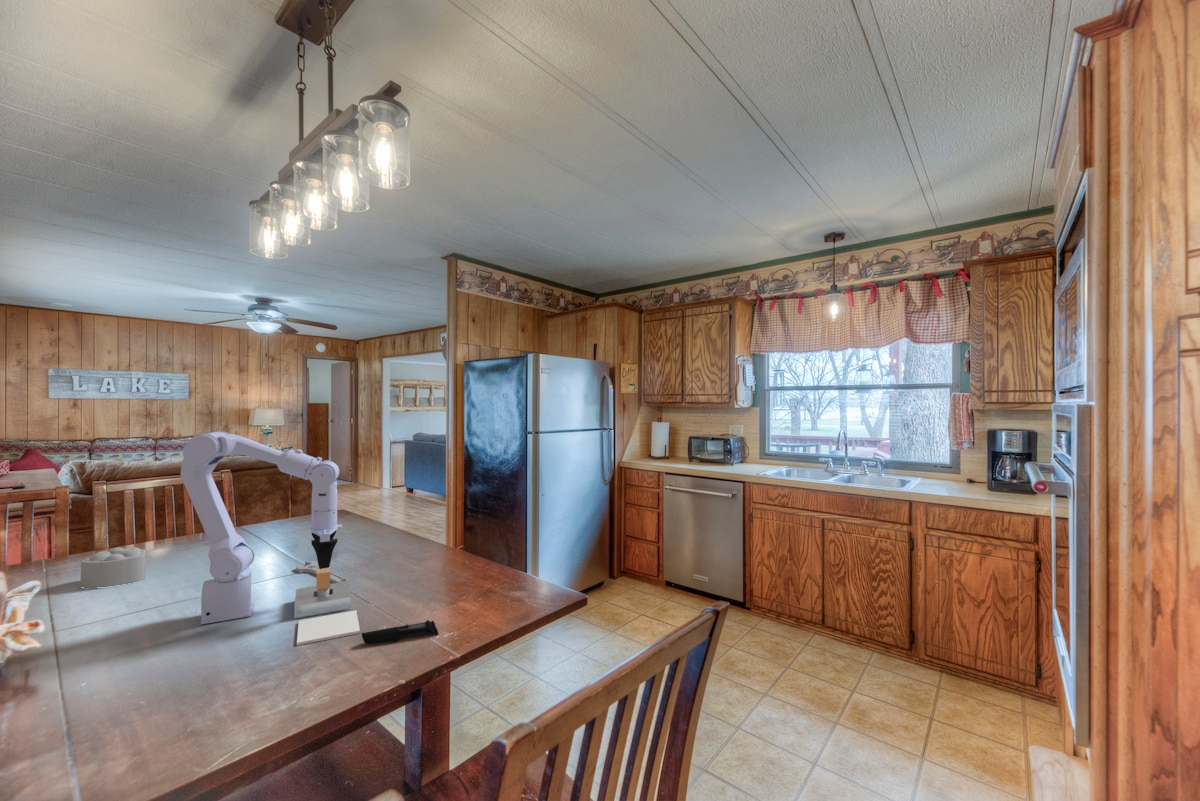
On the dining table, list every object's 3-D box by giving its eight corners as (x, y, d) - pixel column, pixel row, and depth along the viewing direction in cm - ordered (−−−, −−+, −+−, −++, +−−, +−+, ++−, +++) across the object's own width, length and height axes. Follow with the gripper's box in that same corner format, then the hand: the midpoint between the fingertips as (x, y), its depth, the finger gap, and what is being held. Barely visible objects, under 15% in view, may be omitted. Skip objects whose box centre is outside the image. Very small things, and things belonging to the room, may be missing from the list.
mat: (296, 645, 105) (296, 642, 105) (298, 623, 115) (298, 620, 115) (359, 633, 111) (359, 630, 111) (356, 612, 121) (356, 610, 121)
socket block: (294, 618, 117) (294, 606, 117) (296, 600, 128) (296, 589, 128) (351, 608, 123) (351, 596, 123) (348, 592, 134) (348, 581, 134)
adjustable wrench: (350, 585, 140) (350, 579, 140) (325, 592, 135) (325, 585, 135) (314, 564, 156) (314, 559, 156) (291, 570, 151) (291, 564, 151)
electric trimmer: (361, 643, 107) (361, 628, 107) (437, 629, 114) (436, 615, 114) (361, 651, 104) (361, 636, 104) (438, 636, 110) (438, 622, 110)
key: (316, 608, 124) (316, 573, 123) (316, 603, 126) (316, 570, 126) (330, 605, 125) (330, 572, 125) (329, 601, 128) (330, 568, 128)
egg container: (145, 581, 140) (145, 550, 140) (78, 593, 131) (78, 560, 131) (145, 571, 148) (145, 542, 148) (82, 582, 139) (82, 551, 139)
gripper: (343, 513, 121) (343, 569, 121) (341, 502, 134) (340, 553, 134) (310, 516, 118) (309, 574, 118) (310, 505, 130) (310, 557, 130)
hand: (324, 563), depth 126 cm, fingers open, 7 cm apart
